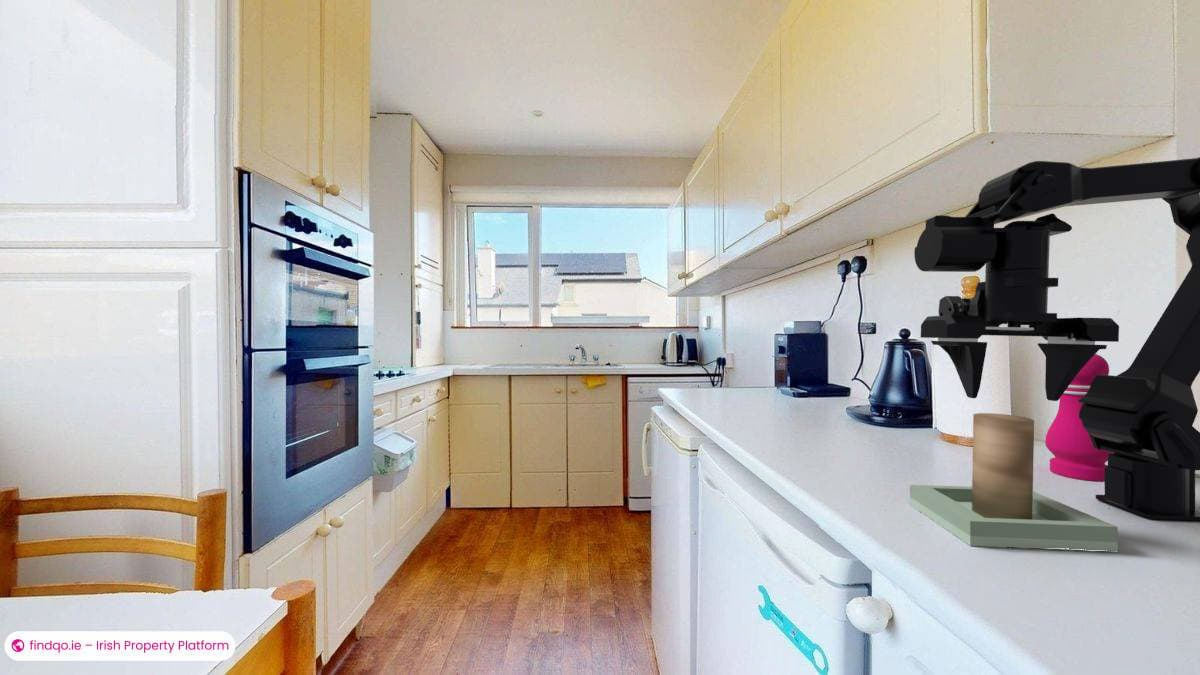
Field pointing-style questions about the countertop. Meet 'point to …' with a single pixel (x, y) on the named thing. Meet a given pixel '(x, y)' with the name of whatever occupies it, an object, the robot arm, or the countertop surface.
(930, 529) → the countertop surface
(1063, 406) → the pepper mill
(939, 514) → the socket board
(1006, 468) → the walnut leg
